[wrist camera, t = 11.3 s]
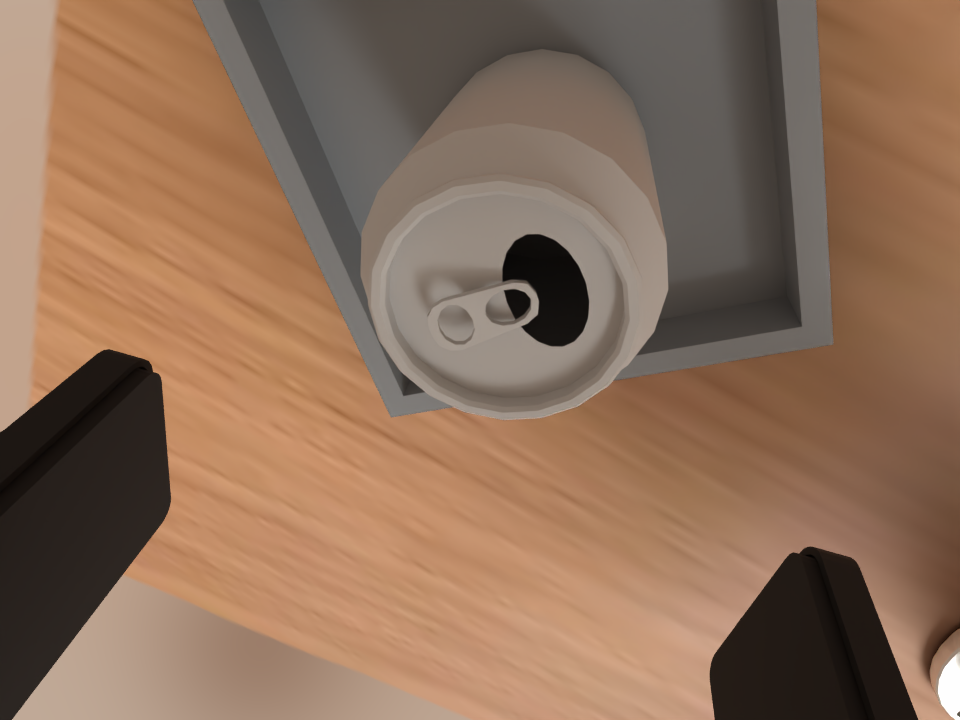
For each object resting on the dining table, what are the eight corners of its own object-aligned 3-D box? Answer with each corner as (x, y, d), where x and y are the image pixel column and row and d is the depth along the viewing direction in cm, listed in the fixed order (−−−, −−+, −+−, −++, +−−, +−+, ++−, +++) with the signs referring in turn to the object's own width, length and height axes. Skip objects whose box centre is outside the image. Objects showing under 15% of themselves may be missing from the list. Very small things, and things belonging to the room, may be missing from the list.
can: (664, 221, 25) (704, 418, 15) (480, 268, 27) (412, 466, 18) (618, 11, 21) (633, 92, 12) (411, 86, 24) (277, 206, 14)
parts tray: (812, 305, 27) (833, 344, 24) (407, 379, 32) (391, 417, 29) (773, -266, 18) (801, -296, 15) (224, -34, 23) (178, -29, 21)
